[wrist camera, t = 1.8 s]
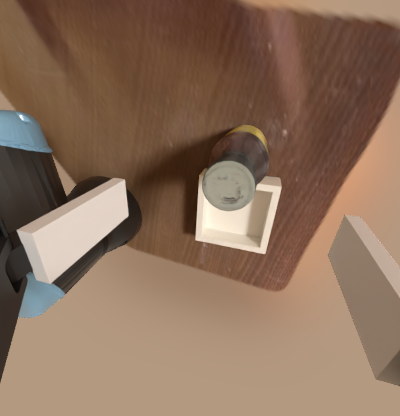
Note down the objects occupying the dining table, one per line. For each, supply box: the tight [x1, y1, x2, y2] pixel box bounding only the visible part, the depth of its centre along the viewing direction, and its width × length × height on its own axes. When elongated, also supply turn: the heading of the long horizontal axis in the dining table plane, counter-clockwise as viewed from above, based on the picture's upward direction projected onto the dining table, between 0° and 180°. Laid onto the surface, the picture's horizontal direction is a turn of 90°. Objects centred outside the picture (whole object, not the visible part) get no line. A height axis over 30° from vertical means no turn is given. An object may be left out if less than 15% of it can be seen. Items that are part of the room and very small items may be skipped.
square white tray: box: [196, 168, 282, 254], centre depth 37 cm, size 12×12×4 cm
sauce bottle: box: [202, 125, 269, 211], centre depth 25 cm, size 7×6×20 cm
